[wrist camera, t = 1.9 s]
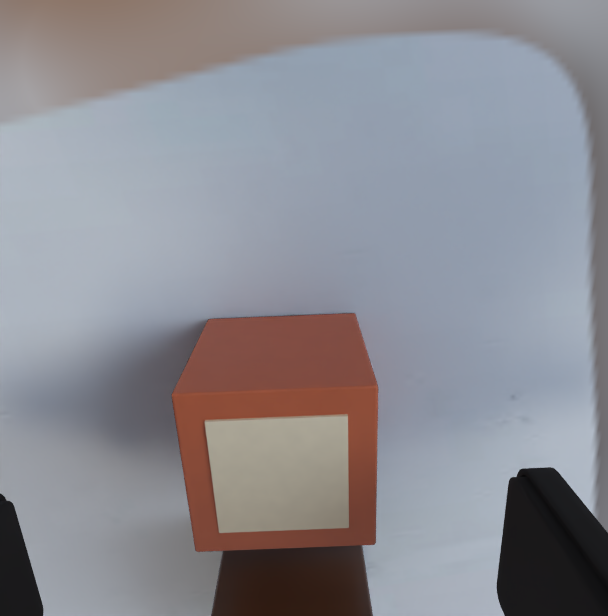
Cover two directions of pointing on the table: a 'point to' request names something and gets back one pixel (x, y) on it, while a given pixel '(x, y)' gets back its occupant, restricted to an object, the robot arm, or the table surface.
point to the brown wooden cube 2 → (293, 582)
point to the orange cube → (279, 433)
